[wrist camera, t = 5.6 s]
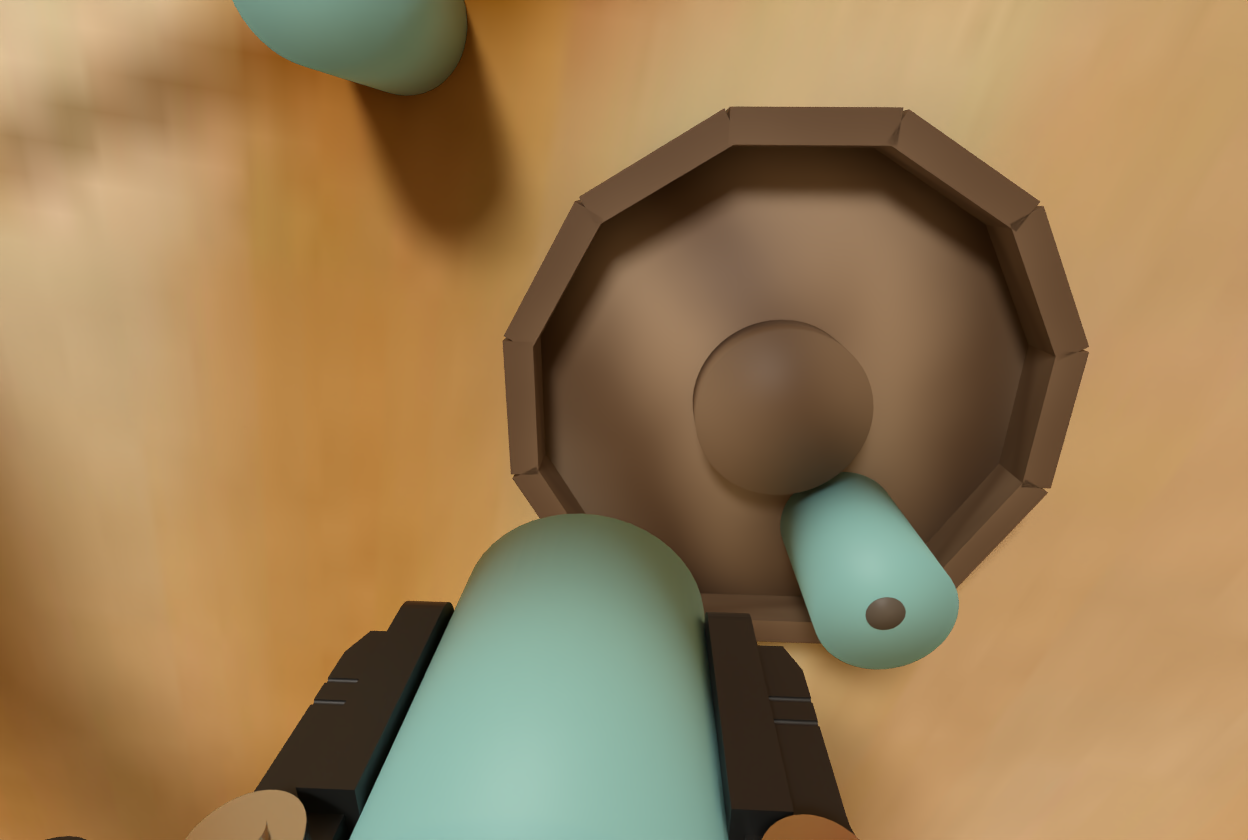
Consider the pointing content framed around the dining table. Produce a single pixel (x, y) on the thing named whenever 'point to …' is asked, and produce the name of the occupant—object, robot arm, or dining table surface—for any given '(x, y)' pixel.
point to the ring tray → (778, 272)
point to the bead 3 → (866, 574)
